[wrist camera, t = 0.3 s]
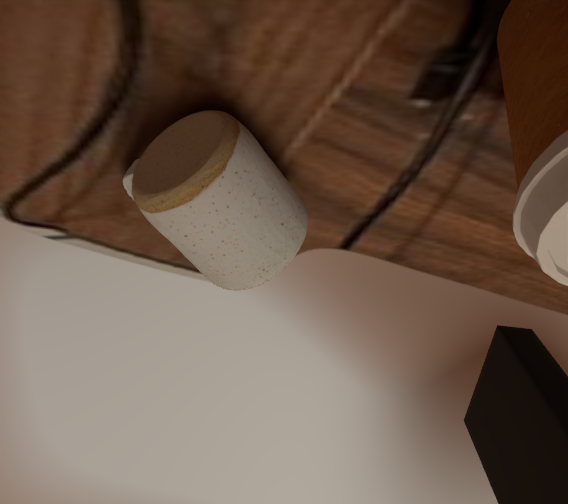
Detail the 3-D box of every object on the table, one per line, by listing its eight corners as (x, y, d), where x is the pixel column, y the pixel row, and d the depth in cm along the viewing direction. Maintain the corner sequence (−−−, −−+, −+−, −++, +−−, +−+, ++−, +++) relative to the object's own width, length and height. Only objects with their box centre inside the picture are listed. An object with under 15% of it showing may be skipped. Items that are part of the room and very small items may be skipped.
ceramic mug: (240, 78, 26) (223, 189, 21) (311, 176, 31) (309, 278, 27) (97, 147, 30) (59, 249, 26) (182, 221, 36) (162, 315, 32)
